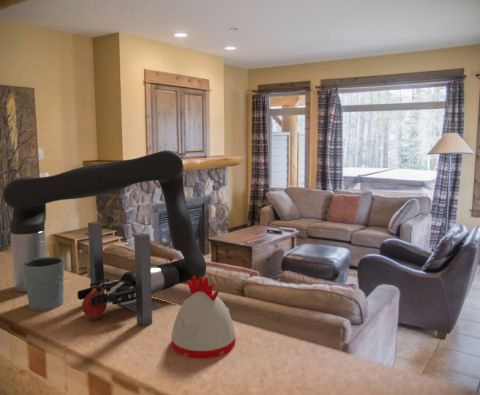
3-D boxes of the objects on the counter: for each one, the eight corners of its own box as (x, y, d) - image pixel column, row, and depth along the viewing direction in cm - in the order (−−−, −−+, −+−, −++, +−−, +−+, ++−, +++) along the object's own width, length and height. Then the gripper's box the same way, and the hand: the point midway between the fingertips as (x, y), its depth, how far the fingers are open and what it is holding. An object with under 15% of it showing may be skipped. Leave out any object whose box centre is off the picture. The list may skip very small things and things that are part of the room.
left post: (91, 300, 122) (87, 222, 119) (100, 298, 124) (96, 221, 121) (96, 303, 121) (92, 224, 118) (104, 300, 123) (101, 222, 120)
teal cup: (45, 313, 113) (42, 268, 112) (16, 308, 117) (13, 264, 116) (74, 300, 123) (71, 258, 121) (46, 295, 126) (43, 254, 125)
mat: (117, 303, 120) (117, 302, 120) (139, 297, 125) (139, 295, 125) (139, 313, 113) (139, 311, 113) (161, 306, 119) (161, 304, 118)
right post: (137, 323, 108) (134, 234, 105) (145, 320, 109) (143, 233, 106) (143, 326, 106) (140, 236, 103) (152, 323, 108) (149, 234, 105)
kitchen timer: (200, 324, 107) (199, 264, 105) (247, 339, 99) (247, 274, 97) (158, 346, 96) (156, 279, 94) (207, 365, 88) (206, 292, 86)
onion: (77, 321, 109) (75, 290, 108) (95, 313, 114) (93, 283, 113) (94, 326, 106) (93, 293, 105) (112, 317, 111) (110, 286, 110)
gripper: (127, 263, 124) (69, 277, 112) (158, 274, 114) (98, 290, 102) (128, 289, 125) (71, 305, 113) (159, 302, 115) (100, 321, 103)
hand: (84, 298), depth 107 cm, fingers closed on onion, 5 cm apart
